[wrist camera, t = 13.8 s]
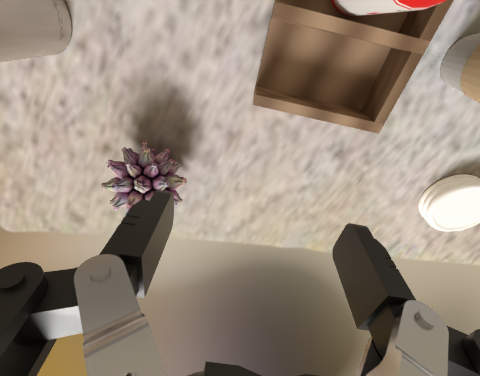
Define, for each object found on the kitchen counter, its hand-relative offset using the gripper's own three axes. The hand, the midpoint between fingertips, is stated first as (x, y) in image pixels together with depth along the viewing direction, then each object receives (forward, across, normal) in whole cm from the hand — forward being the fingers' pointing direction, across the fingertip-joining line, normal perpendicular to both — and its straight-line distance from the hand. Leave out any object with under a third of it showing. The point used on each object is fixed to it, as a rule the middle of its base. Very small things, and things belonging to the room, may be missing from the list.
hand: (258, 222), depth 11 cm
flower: (+28, +13, +15) cm, 34 cm away
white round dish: (+27, -37, +11) cm, 47 cm away
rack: (+27, -8, -9) cm, 30 cm away
